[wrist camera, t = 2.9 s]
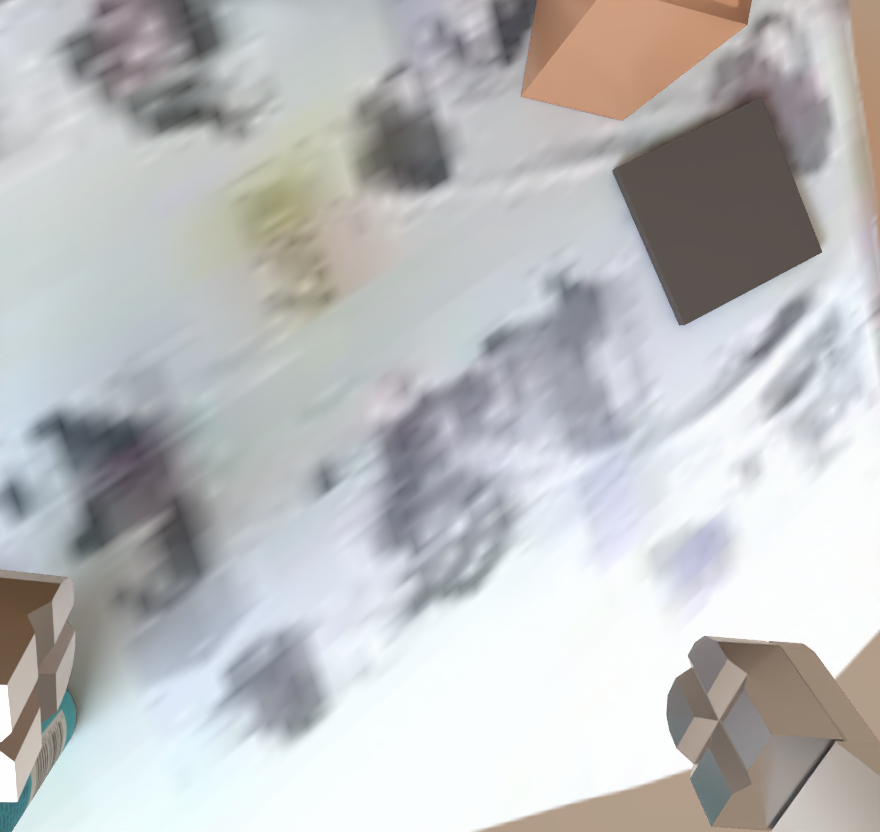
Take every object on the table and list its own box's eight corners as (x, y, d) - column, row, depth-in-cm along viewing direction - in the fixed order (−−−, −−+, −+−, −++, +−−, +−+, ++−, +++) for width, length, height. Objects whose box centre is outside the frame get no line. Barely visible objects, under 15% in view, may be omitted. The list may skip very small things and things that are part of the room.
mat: (612, 170, 37) (617, 167, 37) (754, 100, 38) (761, 96, 38) (679, 325, 39) (685, 324, 38) (814, 253, 40) (822, 252, 39)
